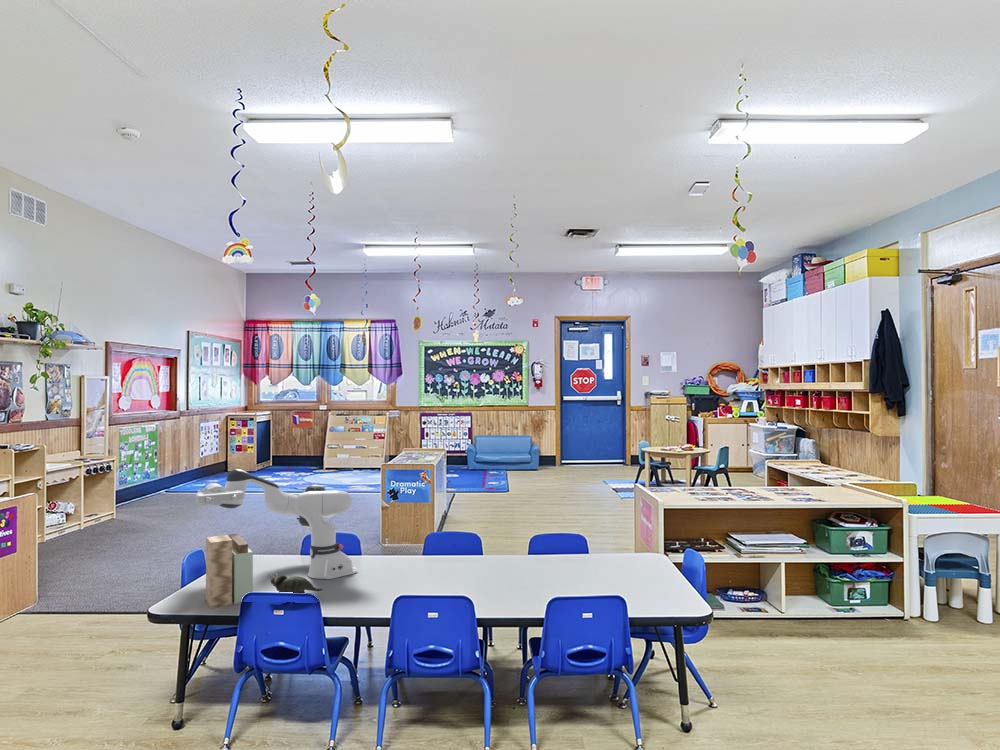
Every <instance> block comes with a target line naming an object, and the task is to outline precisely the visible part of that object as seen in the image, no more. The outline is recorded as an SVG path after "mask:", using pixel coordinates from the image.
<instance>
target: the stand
mask: <svg viewBox="0 0 1000 750" xmlns="http://www.w3.org/2000/svg"><path fill="white" fill-rule="evenodd" d="M205 602H206V604H207V606H208V608H209V609H211V610H212V609H216V608H220V607H227V606H232V605H234V603H233V602H232V539H231V538H230V537H229V534H222V535H215V536H207V537H205Z"/></svg>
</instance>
